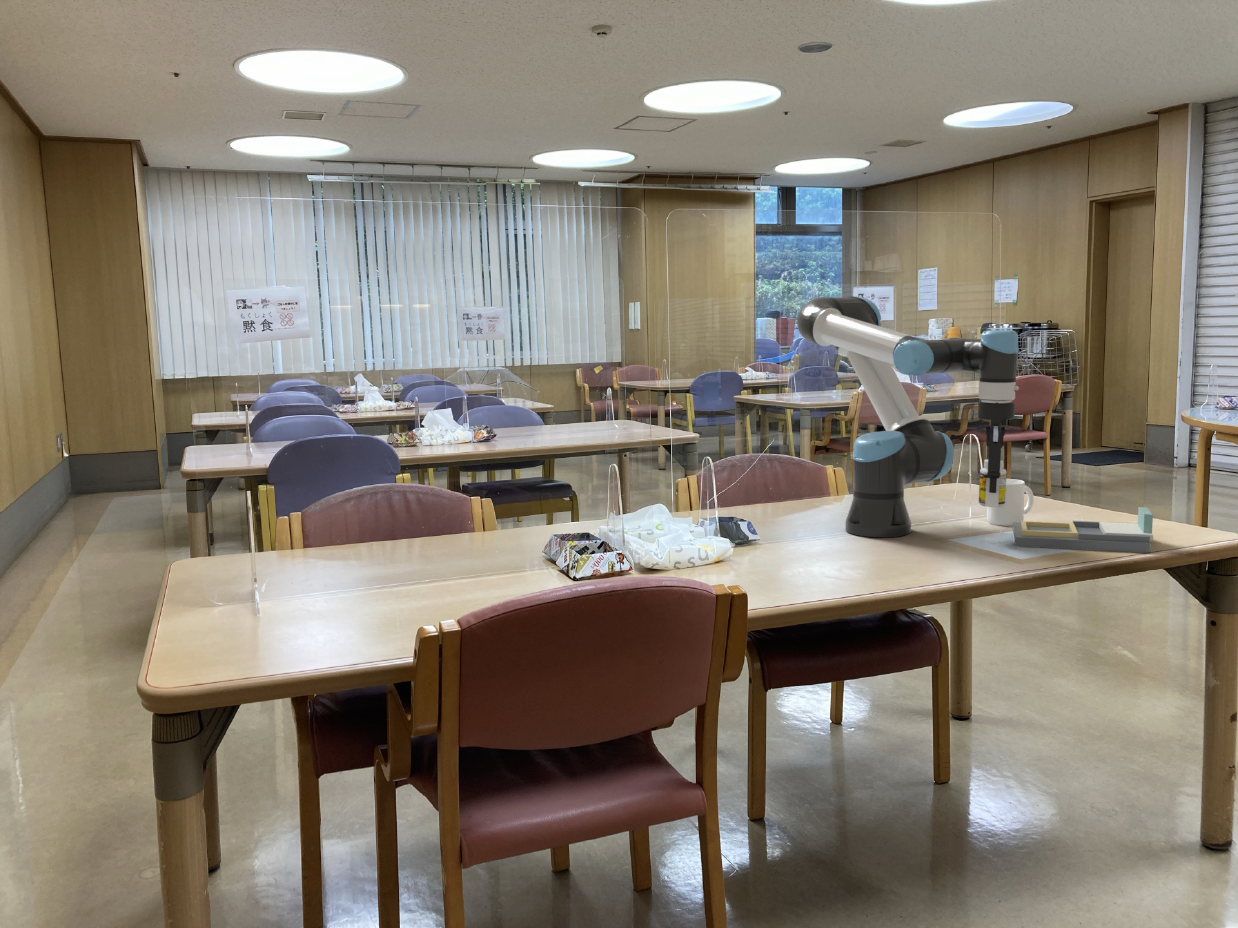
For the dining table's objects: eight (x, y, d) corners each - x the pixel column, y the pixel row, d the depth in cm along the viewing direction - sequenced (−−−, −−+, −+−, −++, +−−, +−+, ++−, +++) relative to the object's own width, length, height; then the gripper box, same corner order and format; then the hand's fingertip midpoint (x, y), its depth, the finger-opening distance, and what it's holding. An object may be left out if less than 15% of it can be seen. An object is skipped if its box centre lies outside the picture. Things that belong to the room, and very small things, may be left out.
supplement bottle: (973, 503, 214) (975, 459, 213) (993, 501, 216) (995, 457, 214) (989, 508, 209) (991, 463, 207) (1010, 506, 211) (1012, 461, 209)
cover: (1105, 538, 202) (1106, 514, 202) (1099, 527, 213) (1100, 504, 212) (1153, 540, 199) (1154, 516, 199) (1144, 529, 210) (1145, 506, 209)
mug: (1021, 517, 236) (1022, 476, 235) (1044, 523, 228) (1045, 481, 227) (979, 521, 233) (980, 480, 232) (1001, 527, 226) (1002, 485, 224)
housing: (1015, 546, 207) (1015, 531, 206) (1012, 530, 222) (1013, 517, 221) (1150, 552, 198) (1150, 537, 197) (1138, 536, 213) (1138, 522, 212)
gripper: (1016, 405, 199) (1010, 513, 203) (1013, 397, 216) (1008, 496, 220) (978, 405, 201) (973, 511, 205) (978, 396, 218) (973, 494, 222)
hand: (991, 503), depth 213 cm, fingers closed on supplement bottle, 6 cm apart
